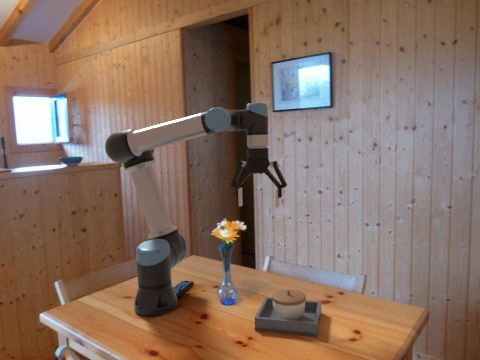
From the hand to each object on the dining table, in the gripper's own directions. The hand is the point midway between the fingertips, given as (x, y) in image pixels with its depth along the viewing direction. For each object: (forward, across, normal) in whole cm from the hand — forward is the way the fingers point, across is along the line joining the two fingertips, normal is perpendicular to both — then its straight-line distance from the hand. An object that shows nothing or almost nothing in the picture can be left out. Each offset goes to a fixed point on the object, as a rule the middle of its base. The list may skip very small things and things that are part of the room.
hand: (258, 206), depth 142 cm
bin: (+34, -13, +16) cm, 40 cm away
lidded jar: (+33, -13, +16) cm, 39 cm away
